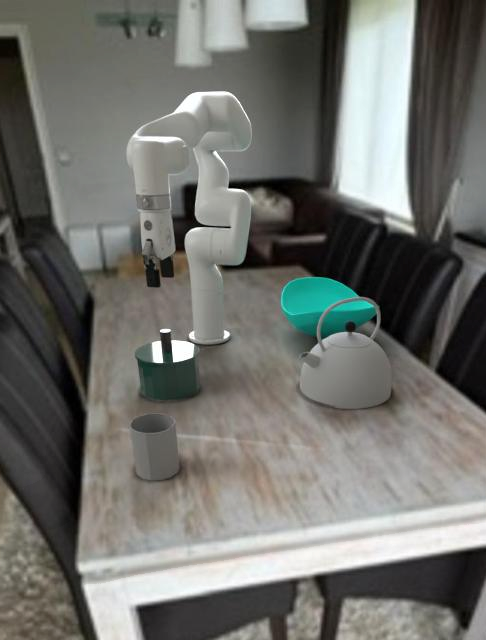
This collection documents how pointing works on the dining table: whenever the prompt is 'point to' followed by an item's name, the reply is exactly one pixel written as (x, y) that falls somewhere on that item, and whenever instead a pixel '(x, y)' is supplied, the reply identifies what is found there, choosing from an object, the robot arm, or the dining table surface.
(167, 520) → the dining table surface
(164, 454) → the cup
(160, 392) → the pot
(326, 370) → the kettle
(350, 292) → the table top decor
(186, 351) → the pot lid
